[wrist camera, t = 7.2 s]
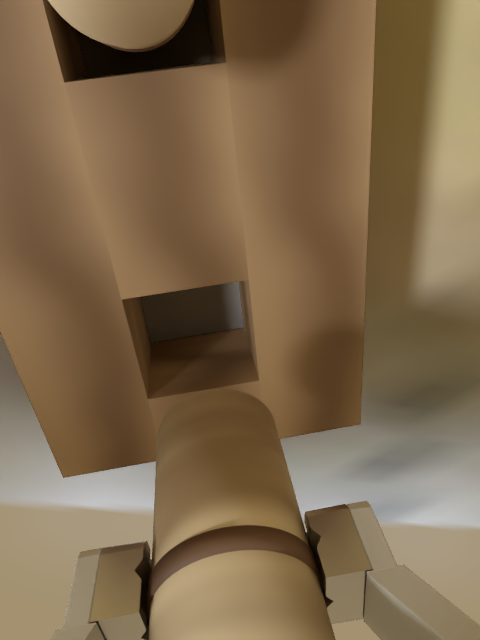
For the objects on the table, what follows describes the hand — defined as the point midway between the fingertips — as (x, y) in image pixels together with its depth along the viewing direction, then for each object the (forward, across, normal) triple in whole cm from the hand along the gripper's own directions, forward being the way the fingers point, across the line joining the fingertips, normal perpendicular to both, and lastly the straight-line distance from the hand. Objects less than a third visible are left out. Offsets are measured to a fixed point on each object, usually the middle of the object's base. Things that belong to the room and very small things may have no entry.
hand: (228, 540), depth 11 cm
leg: (+4, 0, 0) cm, 4 cm away
